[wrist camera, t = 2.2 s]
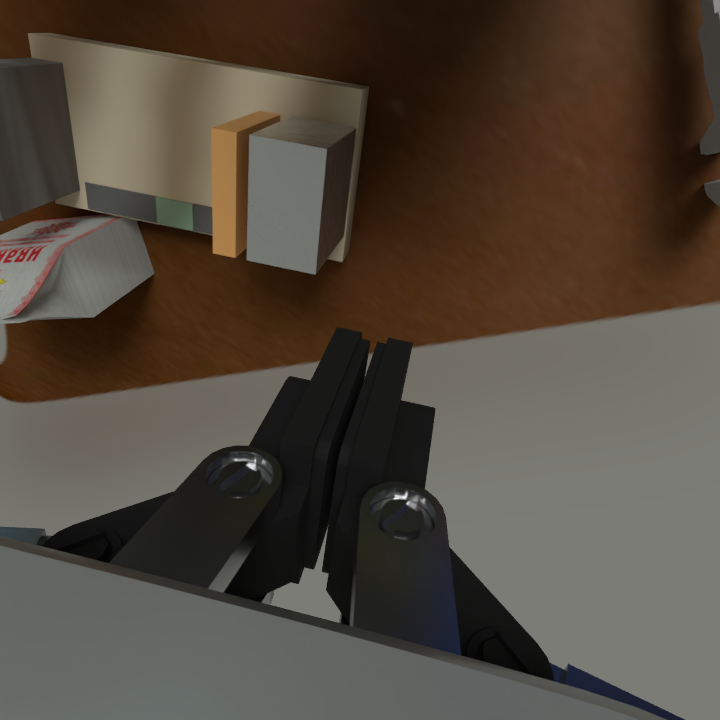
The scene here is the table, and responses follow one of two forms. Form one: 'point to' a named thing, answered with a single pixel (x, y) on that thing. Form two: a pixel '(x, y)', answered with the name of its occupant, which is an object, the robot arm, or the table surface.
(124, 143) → the board
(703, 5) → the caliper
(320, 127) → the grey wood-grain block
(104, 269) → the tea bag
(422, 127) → the table surface
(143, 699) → the robot arm
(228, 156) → the orange rectangular slab
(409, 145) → the table surface
